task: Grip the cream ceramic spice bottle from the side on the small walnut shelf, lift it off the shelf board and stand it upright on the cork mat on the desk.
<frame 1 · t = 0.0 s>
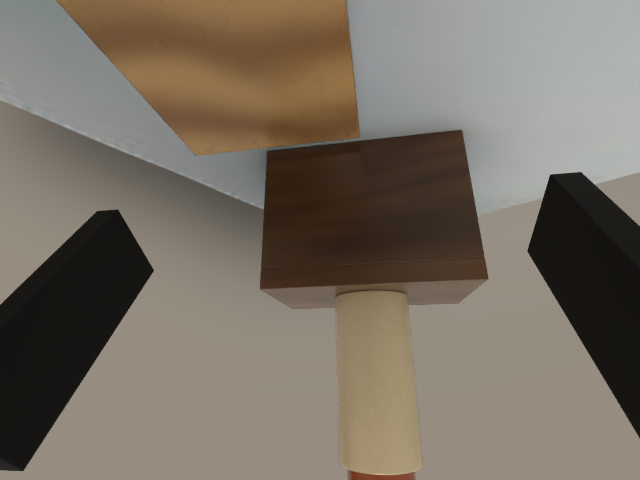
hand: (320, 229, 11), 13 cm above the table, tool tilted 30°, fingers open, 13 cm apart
spice bottle: (370, 297, 29), point 12 cm above the table, touching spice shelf
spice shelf: (363, 172, 33), on the table
cork mat: (222, 37, 19), on the table
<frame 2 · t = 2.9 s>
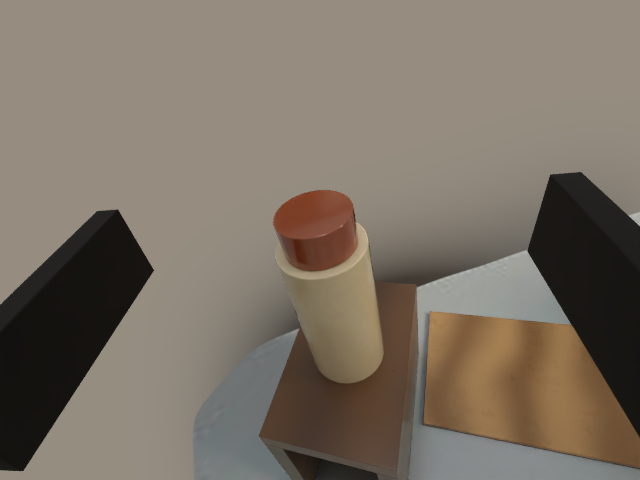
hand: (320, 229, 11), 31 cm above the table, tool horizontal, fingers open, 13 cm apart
spice bottle: (348, 350, 29), point 12 cm above the table, touching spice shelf
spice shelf: (364, 412, 37), on the table
cork mat: (526, 376, 36), on the table
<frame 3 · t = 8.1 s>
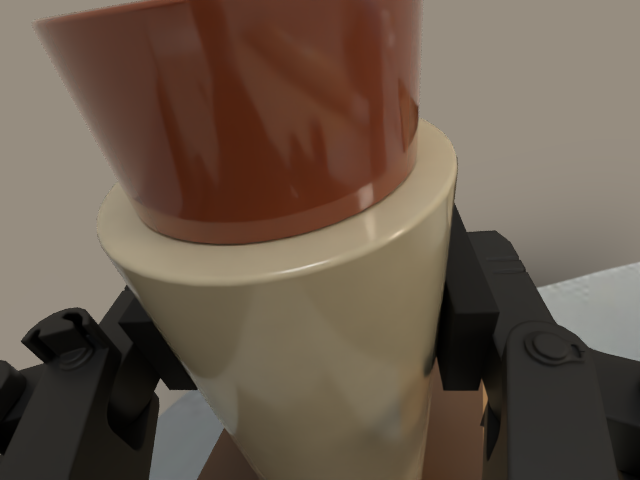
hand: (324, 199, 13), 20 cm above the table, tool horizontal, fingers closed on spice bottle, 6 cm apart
spice bottle: (342, 445, 13), point 12 cm above the table, touching gripper, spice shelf
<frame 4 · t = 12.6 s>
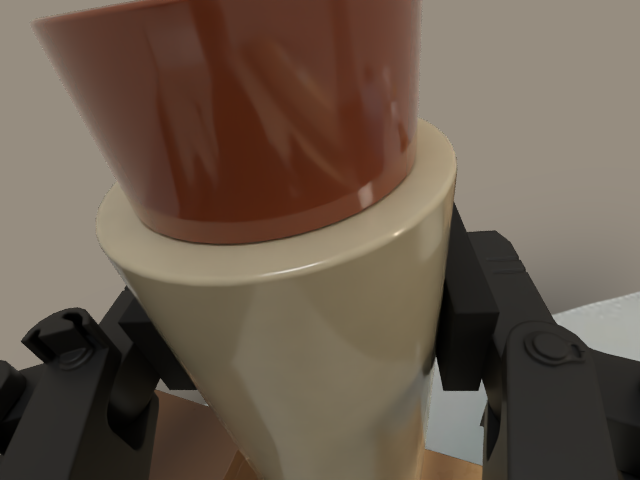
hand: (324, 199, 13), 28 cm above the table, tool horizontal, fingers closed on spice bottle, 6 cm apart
spice bottle: (342, 445, 13), point 20 cm above the table, touching gripper
when the fingers open (8 cm above the table, at t = 17.5 s): spice bottle stays where it is, resting on cork mat.
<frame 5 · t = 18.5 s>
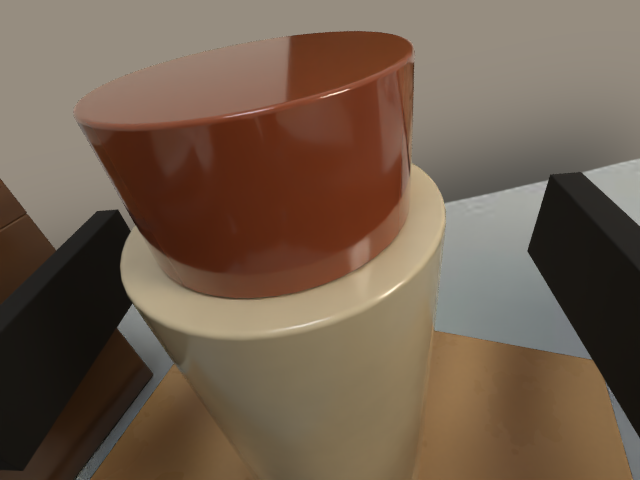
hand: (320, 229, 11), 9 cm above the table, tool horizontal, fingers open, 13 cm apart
spice bottle: (341, 456, 14), resting on cork mat
cork mat: (344, 459, 14), on the table
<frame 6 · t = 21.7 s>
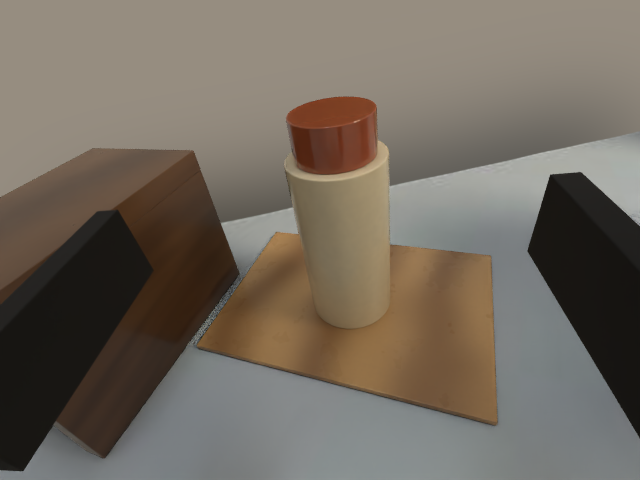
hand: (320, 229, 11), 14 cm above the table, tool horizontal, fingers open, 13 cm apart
spice bottle: (351, 297, 27), resting on cork mat
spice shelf: (136, 332, 28), on the table
cork mat: (352, 301, 27), on the table
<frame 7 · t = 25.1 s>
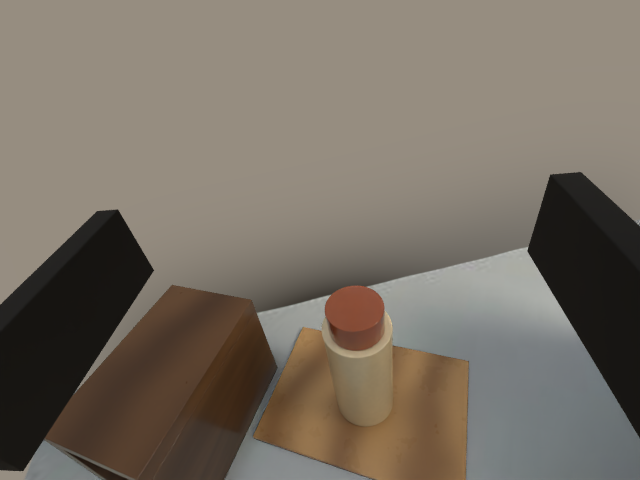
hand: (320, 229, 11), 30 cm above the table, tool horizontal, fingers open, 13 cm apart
spice bottle: (364, 397, 37), resting on cork mat
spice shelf: (205, 421, 37), on the table
cork mat: (365, 399, 37), on the table
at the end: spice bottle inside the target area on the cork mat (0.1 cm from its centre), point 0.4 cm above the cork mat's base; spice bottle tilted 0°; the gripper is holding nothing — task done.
